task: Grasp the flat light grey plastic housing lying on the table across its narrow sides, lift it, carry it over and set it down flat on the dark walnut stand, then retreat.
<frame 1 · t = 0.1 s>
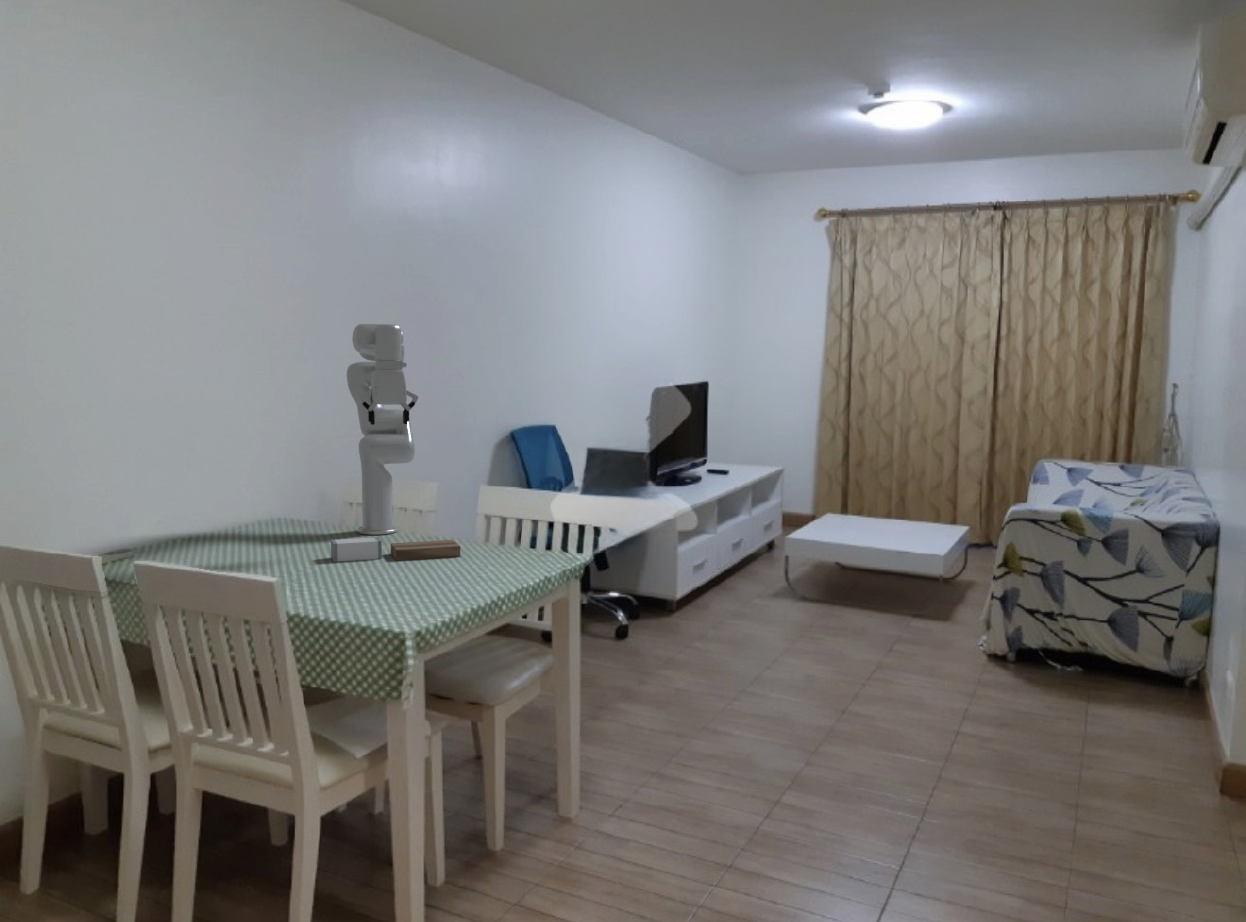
hand: (388, 424, 286), 37 cm above the table, fingers open, 9 cm apart
walnut stand: (425, 555, 276), on the table
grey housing: (356, 558, 270), on the table
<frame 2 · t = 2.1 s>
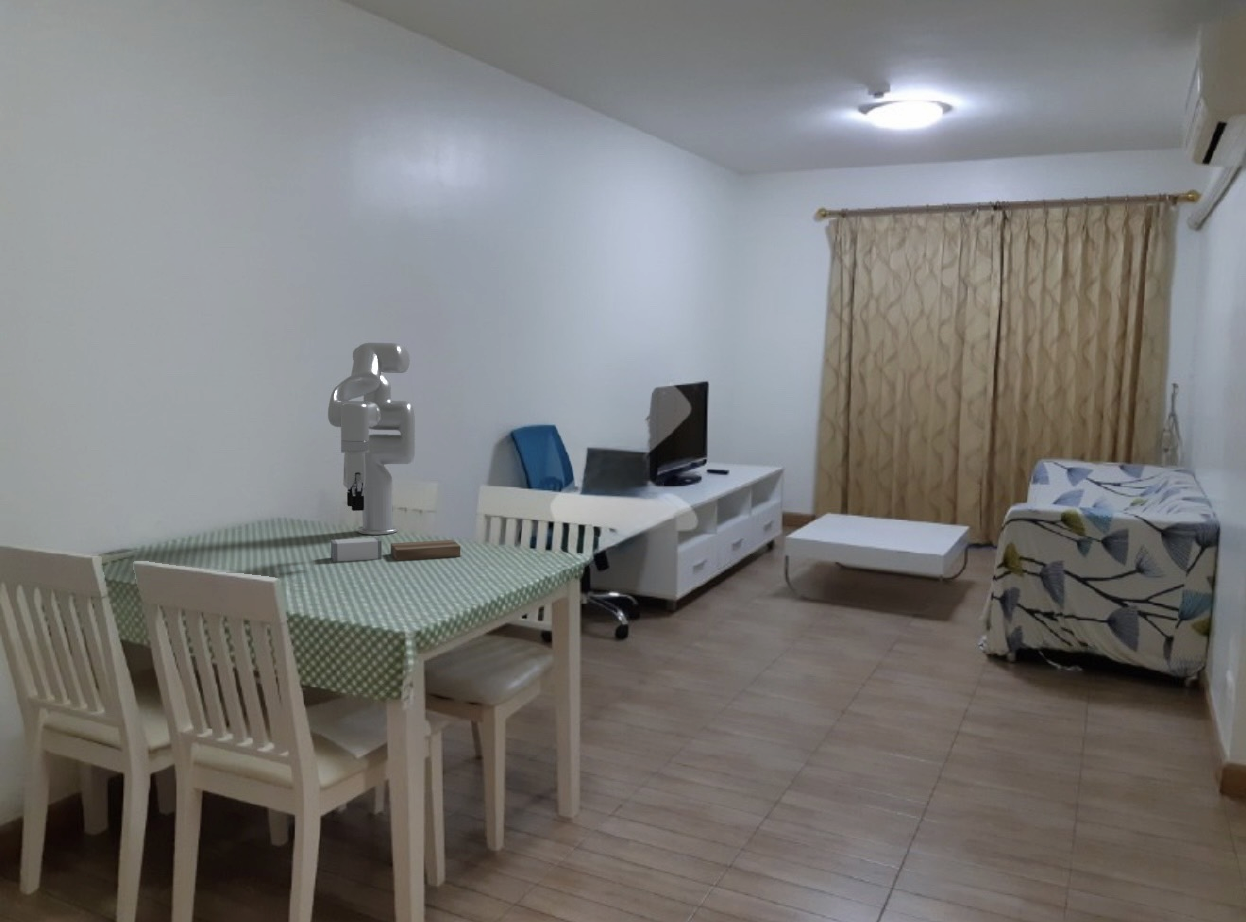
hand: (355, 508, 268), 14 cm above the table, fingers open, 9 cm apart
nothing on the table moved.
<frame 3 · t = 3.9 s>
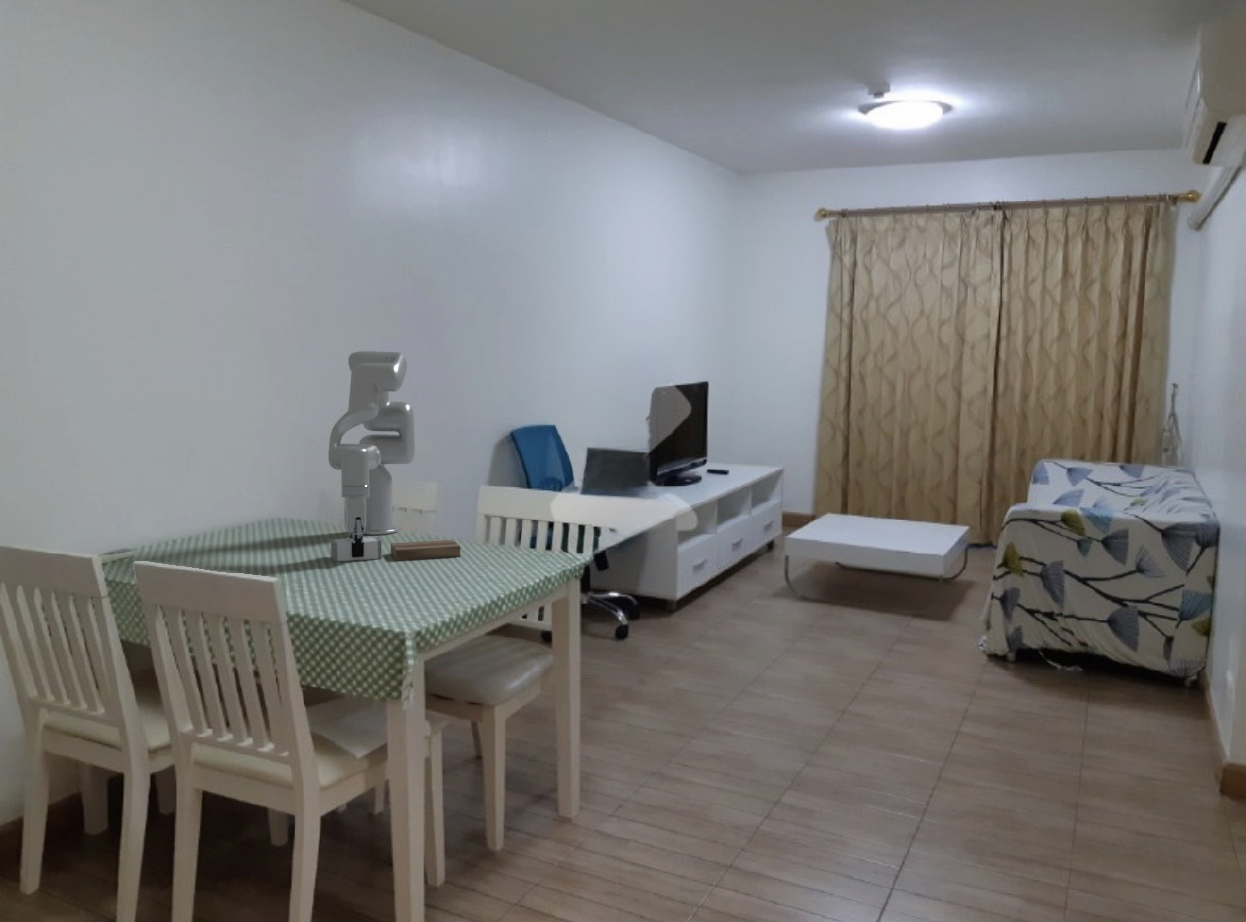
hand: (356, 553, 270), 1 cm above the table, fingers closed on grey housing, 6 cm apart
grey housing: (356, 557, 270), on the table, touching gripper
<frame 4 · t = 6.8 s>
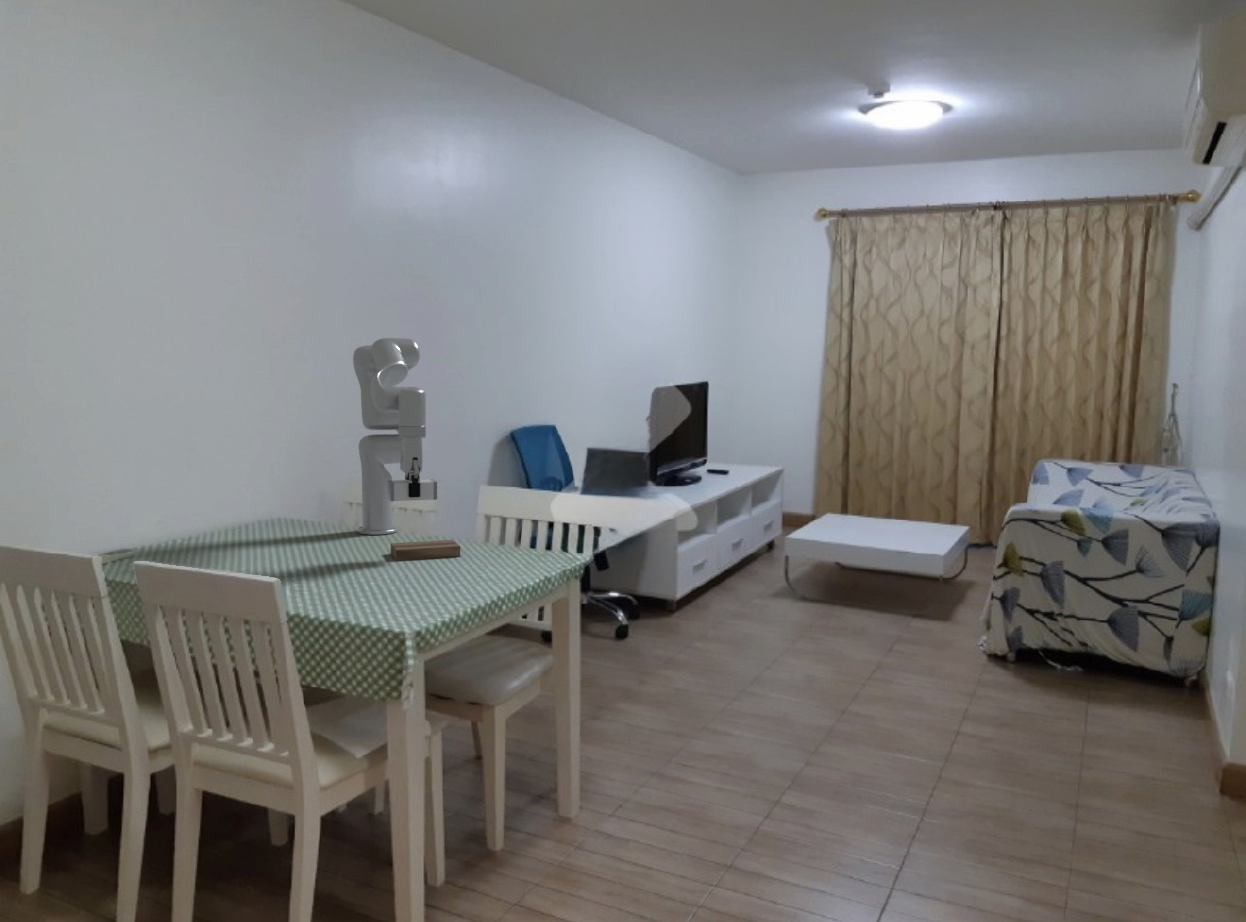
hand: (412, 494, 273), 18 cm above the table, fingers closed on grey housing, 6 cm apart
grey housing: (412, 498, 273), point 16 cm above the table, touching gripper
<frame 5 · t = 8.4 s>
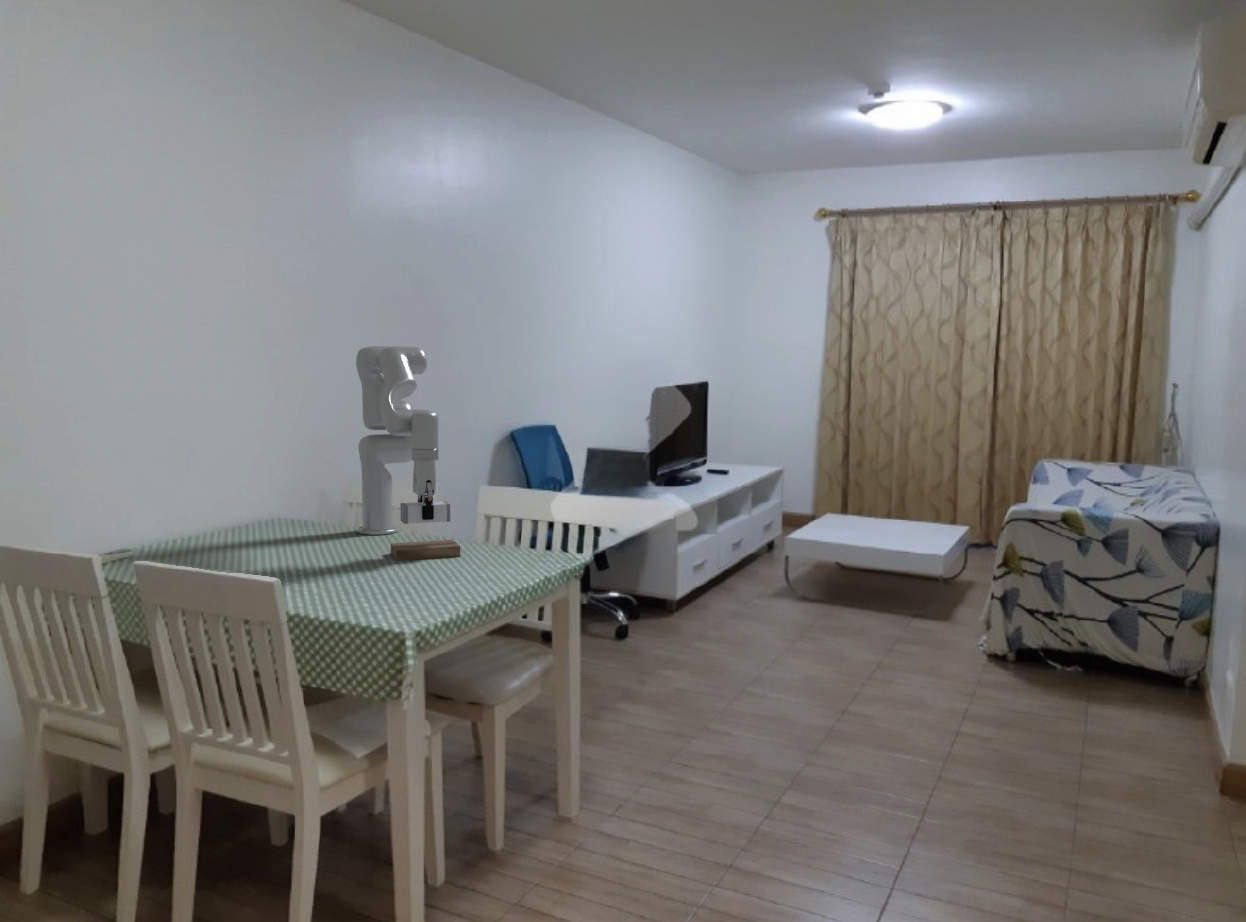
hand: (425, 517, 275), 11 cm above the table, fingers closed on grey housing, 6 cm apart
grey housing: (425, 520, 275), point 10 cm above the table, touching gripper
when the fingers open (6 cm above the table, at t = 9.8 s): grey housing drops 2 cm, resting on walnut stand.
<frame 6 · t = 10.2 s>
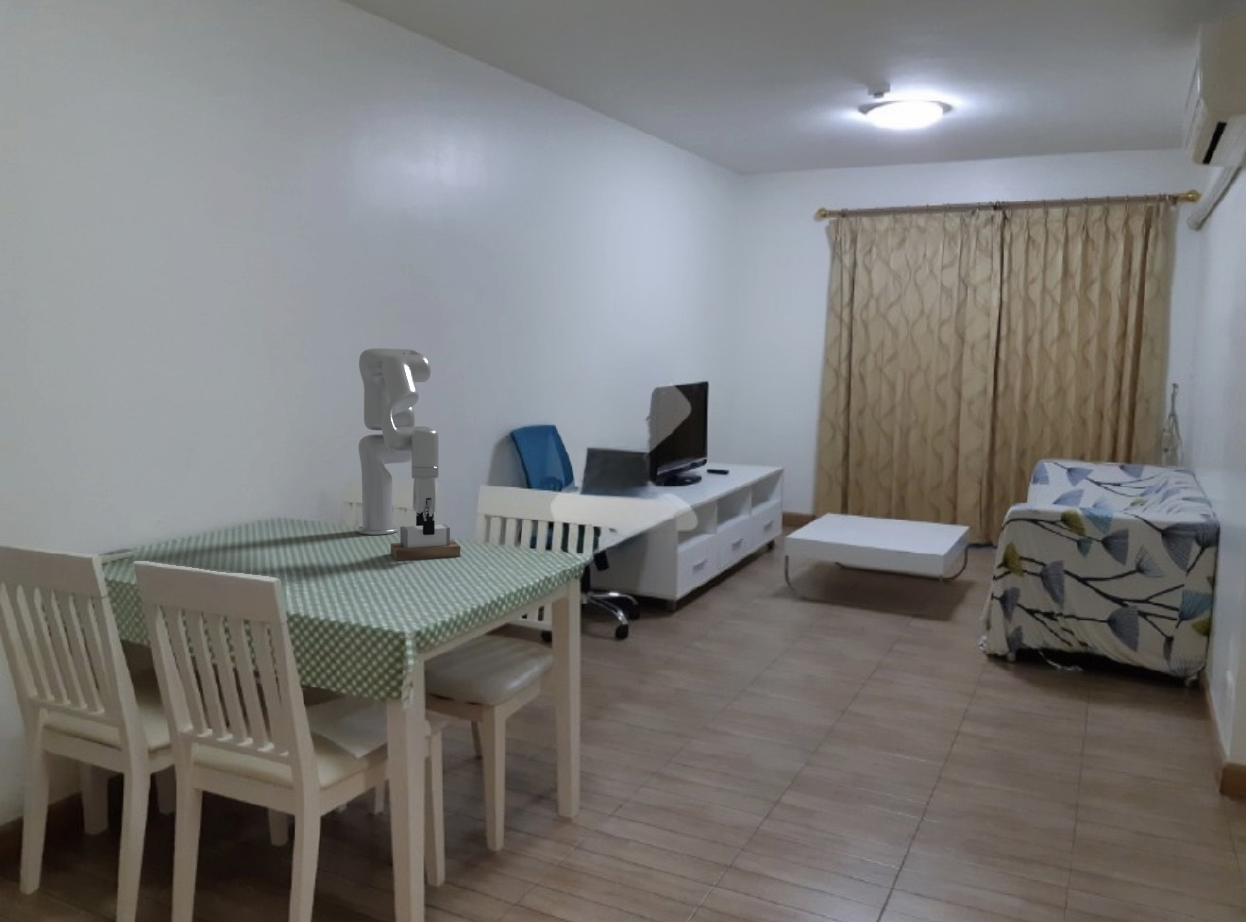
hand: (425, 531, 275), 7 cm above the table, fingers open, 9 cm apart
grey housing: (425, 544, 276), point 3 cm above the table, touching walnut stand
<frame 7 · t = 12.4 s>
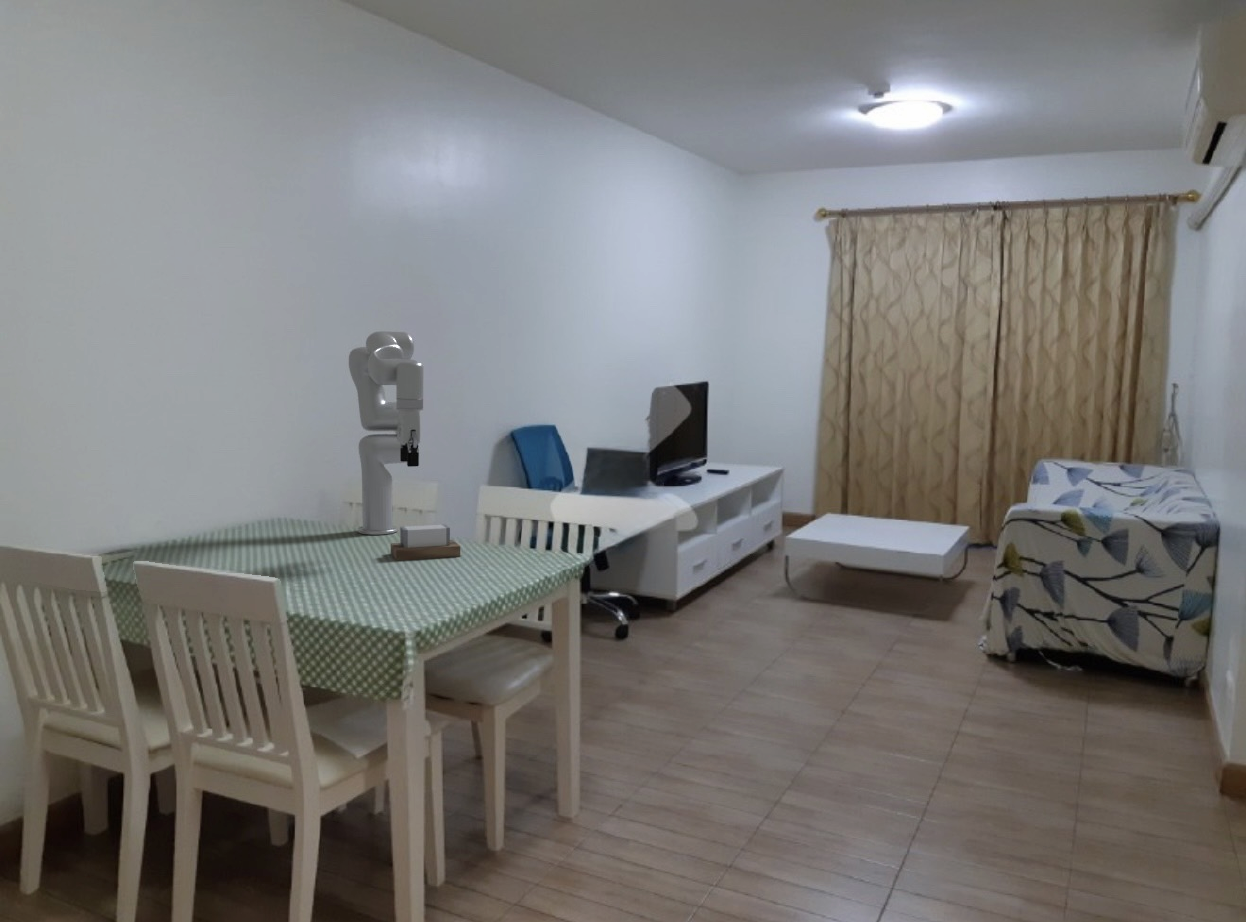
hand: (409, 463, 277), 26 cm above the table, fingers open, 9 cm apart
nothing on the table moved.
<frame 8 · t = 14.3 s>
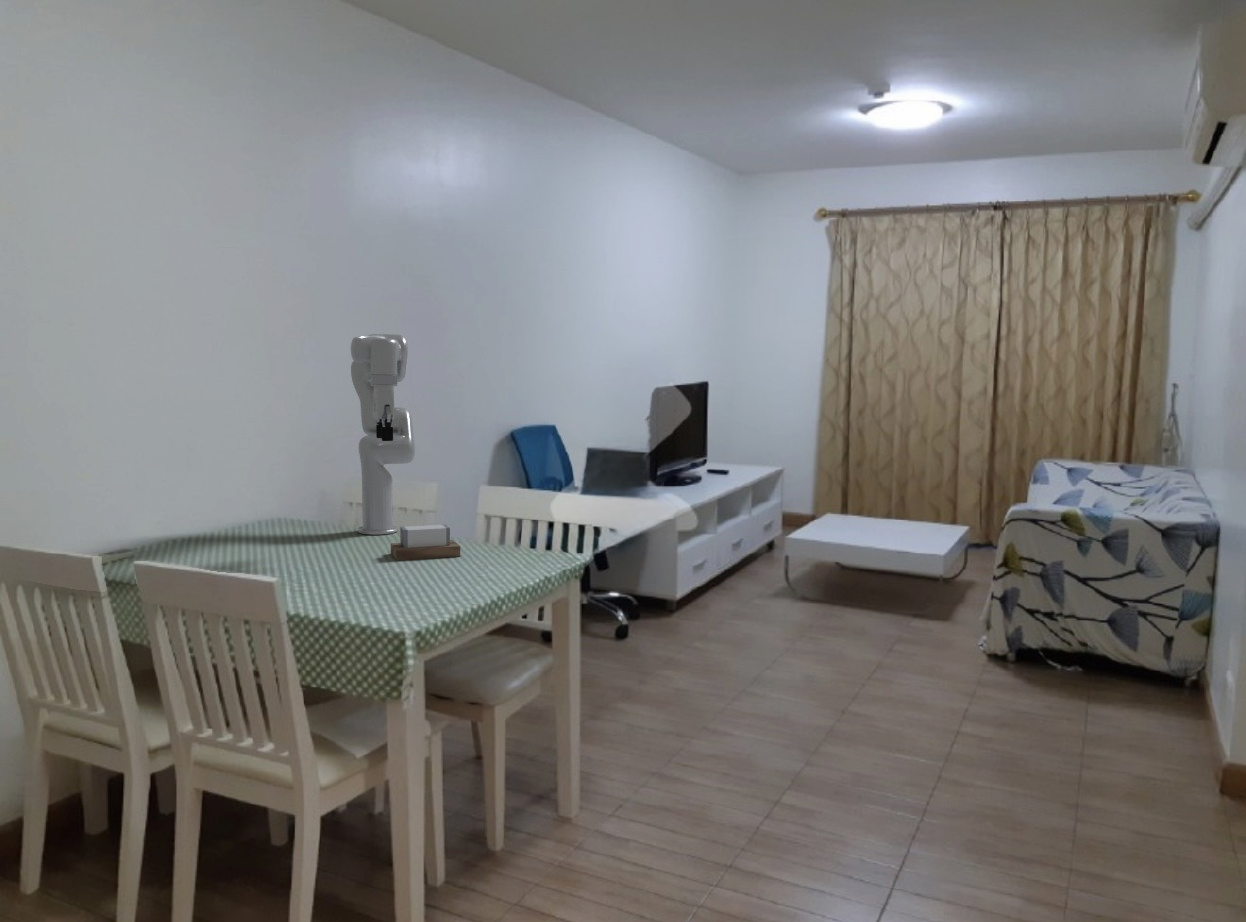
hand: (384, 439, 282), 32 cm above the table, fingers open, 9 cm apart
nothing on the table moved.
at the end: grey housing inside the target area on the walnut stand (0.1 cm from its centre), point 3.0 cm above the walnut stand's base; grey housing tilted 0°; the gripper is holding nothing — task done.
